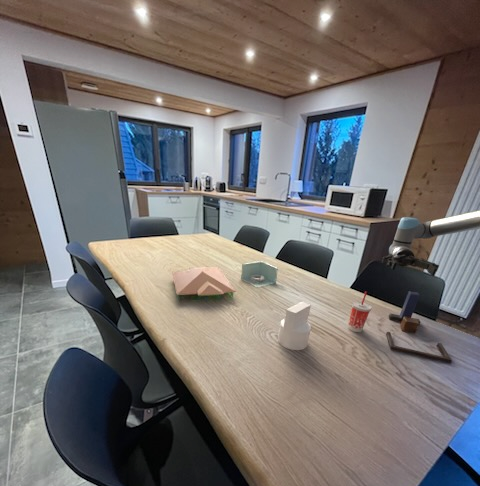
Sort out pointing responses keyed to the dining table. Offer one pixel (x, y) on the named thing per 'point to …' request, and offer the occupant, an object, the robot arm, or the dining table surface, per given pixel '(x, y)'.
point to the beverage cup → (359, 315)
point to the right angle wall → (259, 273)
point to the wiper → (407, 307)
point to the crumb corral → (443, 358)
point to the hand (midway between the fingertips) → (414, 269)
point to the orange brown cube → (409, 324)
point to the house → (202, 282)
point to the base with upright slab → (295, 327)
